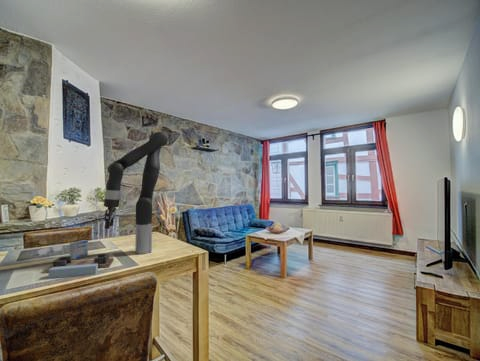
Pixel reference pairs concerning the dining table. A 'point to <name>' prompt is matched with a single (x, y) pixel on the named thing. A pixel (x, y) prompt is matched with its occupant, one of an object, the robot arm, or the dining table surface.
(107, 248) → the dining table surface
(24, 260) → the dining table surface
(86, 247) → the medicine box
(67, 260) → the endcap board
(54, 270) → the grey long block
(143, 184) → the robot arm
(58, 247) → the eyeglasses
